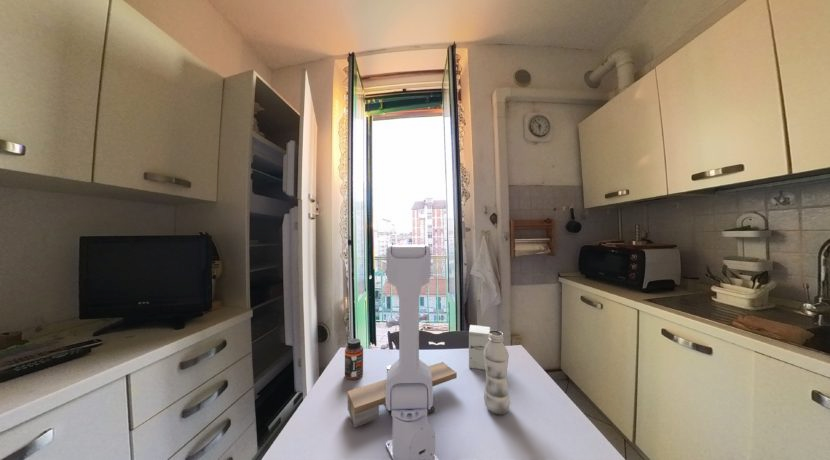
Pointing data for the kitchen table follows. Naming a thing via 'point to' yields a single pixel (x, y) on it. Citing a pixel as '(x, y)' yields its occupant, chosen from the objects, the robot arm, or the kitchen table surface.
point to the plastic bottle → (496, 374)
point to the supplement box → (477, 346)
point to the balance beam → (373, 395)
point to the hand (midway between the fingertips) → (408, 345)
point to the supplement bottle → (354, 359)
